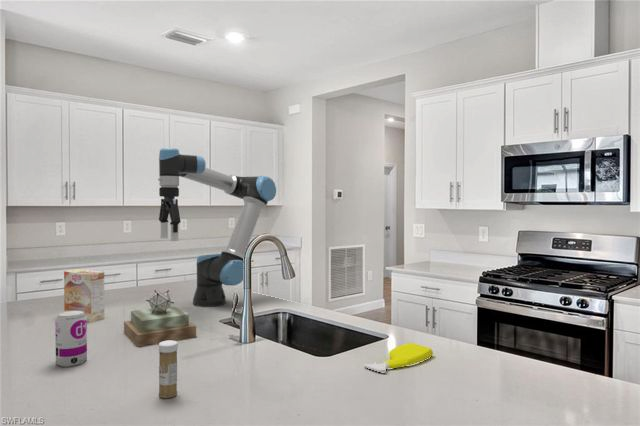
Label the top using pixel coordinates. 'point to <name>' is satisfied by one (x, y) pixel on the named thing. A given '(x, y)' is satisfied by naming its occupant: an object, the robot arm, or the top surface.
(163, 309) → the game die
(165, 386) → the sprinkles bottle
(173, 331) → the tower base
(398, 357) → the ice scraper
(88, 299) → the coffeecake box
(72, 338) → the supplement can
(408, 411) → the top surface
